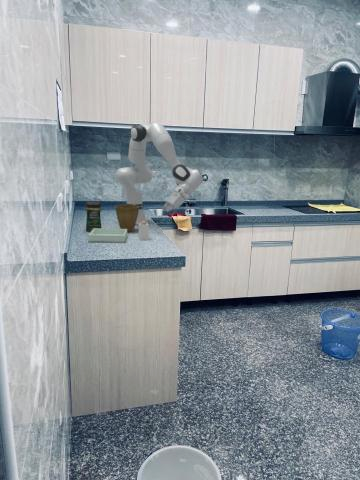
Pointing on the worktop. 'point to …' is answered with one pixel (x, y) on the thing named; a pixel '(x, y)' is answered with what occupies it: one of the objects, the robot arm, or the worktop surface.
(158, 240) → the worktop surface
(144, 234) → the cup post
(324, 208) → the worktop surface
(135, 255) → the worktop surface
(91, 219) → the coffee jar
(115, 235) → the tray
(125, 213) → the plant pot
